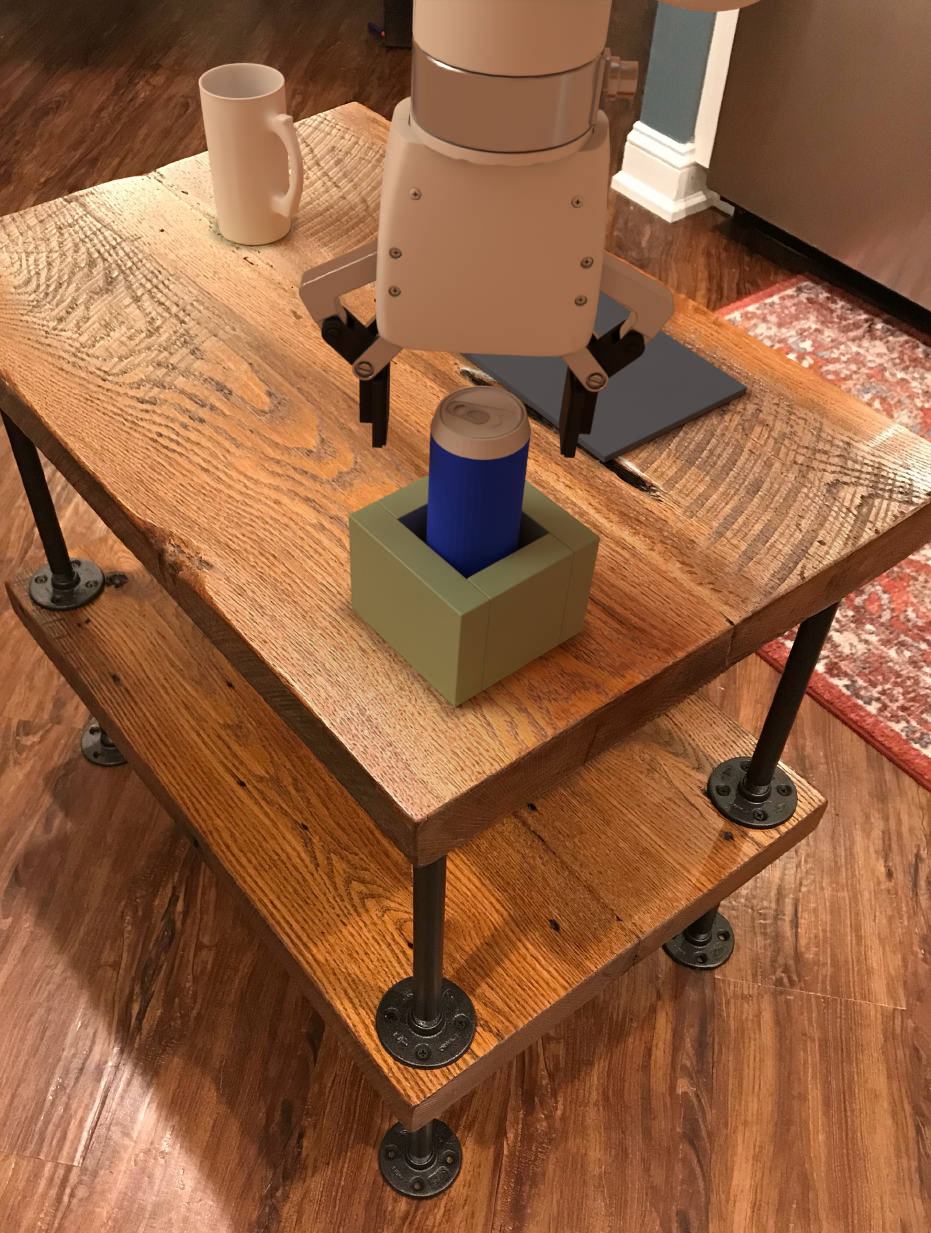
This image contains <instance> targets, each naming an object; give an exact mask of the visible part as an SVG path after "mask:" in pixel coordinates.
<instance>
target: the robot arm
mask: <svg viewBox="0 0 931 1233" xmlns="http://www.w3.org/2000/svg"><path fill="white" fill-rule="evenodd" d="M656 1H658V2H659V3H663V4H665V5H667V6H668V5H669V6H671V7H676V8H680V9H684V10H688V11H695V12H706V13H720V12H727V11H735V10H739V9H743V8H746V7H749V6H751V5H753V4H756V3H758V2H760V1H761V0H656ZM612 3H613V0H412V38H411V66H410V67H411V68H410V69H411V71H410V72H411V73H410V96H408V97H406V98H403V99H402V100H401V101H399V102H398V103H397V104H396V106H395V108H394V109H393V113H392V118H391V123H390V126H389V132H388V136H387V143H386V148H385V154H384V162H383V168H382V169H383V170H382V180H381V188H380V204H379V218H378V230H377V231H378V232H377V238H376V239H375V240H373V241H370V242H368V243H366V244H364V245H361V246H359V247H357V248H355V249H353V250H350V251H348V252H345V253H343V254H341V255H338V256H337V257H334V258H332V259H330V260H327V261H325V262H322V263H321V264H319V265H316V266H314V267H311V268H310V269H308V270H307V269H306V271H304V272H303V273H302V274H301V277H300V283H299V288H298V296H299V298H300V300H301V302H302V303H303V305H304V306H305V308H306V310H307V312H308V313H309V315H310V317H311V318H312V320H313V322H314V323H315V324H317V326H318V328H319V330H320V331H321V332H320V336H321V338H322V340H323V341H324V342H325V343H326V344H327V345H328V346H330V348H332V350H334V352H336V353H337V354H338V355H340V357H341V358H343V359H344V360H345V361H346V362H347V364H349V365H350V366H351V372H352V374H353V375H354V377H355V378H357V379H358V389H359V390H358V399H359V400H358V401H359V402H358V404H359V406H358V408H359V409H358V410H359V414H358V415H359V416H358V417H359V418H358V419H359V423H360V424H371V448H372V449H383V446H384V447H386V446H387V442H388V433H389V422H390V411H391V410H390V409H391V408H390V406H391V404H390V403H391V362H392V361H393V360H394V358H395V357H396V356H397V355H399V354H400V353H401V352H402V351H403V350H404V349H405V350H411V351H423V352H439V353H441V352H442V353H455V354H456V353H457V354H461V353H473V354H494V355H515V356H539V357H557V356H561V358H562V359H563V360H564V361H565V363H566V364H567V365H568V366H567V372H566V379H565V385H564V392H563V398H562V404H561V411H560V417H559V428H558V434H559V436H558V437H559V453H560V456H563V458H564V459H575V457H576V453H577V448H578V443H577V442H578V437H579V434H588V435H590V433H591V429H592V424H593V418H594V413H595V407H596V402H597V397H598V392H599V391H601V390H603V389H604V388H606V386H607V385H608V379H609V378H610V377H612V376H613V375H614V374H616V373H617V372H619V371H620V370H622V369H623V368H625V367H626V366H627V365H629V364H630V363H632V362H633V361H635V360H636V359H638V358H639V357H640V356H641V355H642V354H643V353H644V351H645V346H646V345H647V343H648V342H649V341H650V340H652V339H653V338H654V337H655V336H656V335H657V333H658V332H659V331H660V330H661V331H662V329H663V328H664V326H665V325H666V324H667V323H668V322H669V320H670V319H671V318H672V317H673V315H674V313H675V310H676V309H675V302H674V297H673V292H672V290H671V289H670V288H669V287H667V286H665V285H664V284H662V283H661V282H658V281H657V280H655V279H654V278H652V277H650V276H648V275H646V273H643V272H641V271H639V270H638V269H636V268H634V267H633V266H631V265H630V264H628V263H626V262H625V261H623V260H621V259H619V258H617V257H615V255H613V254H611V253H609V252H607V251H605V246H606V235H607V225H608V199H609V198H608V194H609V193H608V192H609V191H608V190H609V180H610V179H609V177H610V164H611V163H610V162H611V145H610V142H611V140H610V127H609V126H610V125H609V118H608V116H607V113H605V112H604V110H605V107H606V103H615V102H616V100H617V99H625V100H626V99H627V100H634V98H635V96H636V93H637V87H638V80H639V69H640V68H639V67H640V66H639V64H640V63H639V61H637V60H621V57H620V56H617V55H612V54H611V47H606V46H605V45H607V44H606V43H607V37H608V31H609V23H610V18H611V11H612ZM374 282H375V314H374V315H373V316H372V317H371V318H369V320H368V321H367V322H366V323H365V324H364V323H362V321H361V320H359V319H358V318H357V317H356V316H355V315H354V314H353V313H352V312H351V311H350V310H348V309H347V308H346V307H345V306H344V305H342V303H341V302H340V301H341V299H340V298H339V297H341V296H344V295H346V294H348V293H350V292H353V291H355V290H357V289H360V288H363V287H364V286H366V285H369V284H371V283H374ZM599 292H601V293H603V294H604V295H606V296H608V297H610V298H611V299H613V300H615V301H616V302H618V303H619V304H621V305H622V306H624V307H625V308H627V309H628V310H630V311H632V312H631V313H630V316H629V318H628V319H626V320H624V321H622V322H621V323H619V324H618V325H617V326H615V327H614V328H612V329H611V330H610V331H608V332H607V333H605V334H604V335H603V336H601V337H599V336H598V334H597V333H596V331H595V330H594V329H593V328H594V324H595V319H596V313H597V306H598V299H599Z"/></svg>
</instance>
